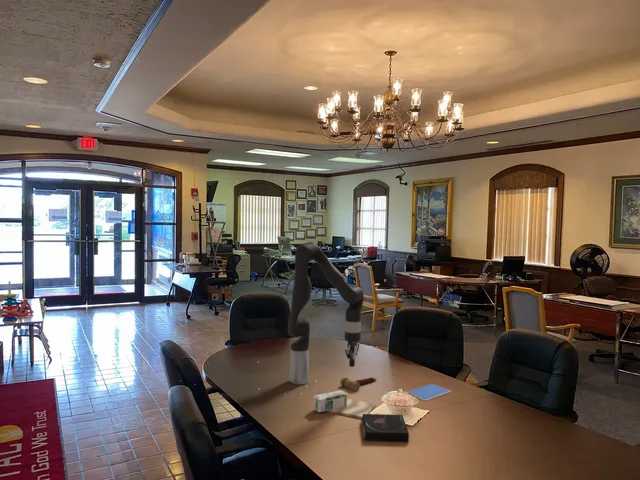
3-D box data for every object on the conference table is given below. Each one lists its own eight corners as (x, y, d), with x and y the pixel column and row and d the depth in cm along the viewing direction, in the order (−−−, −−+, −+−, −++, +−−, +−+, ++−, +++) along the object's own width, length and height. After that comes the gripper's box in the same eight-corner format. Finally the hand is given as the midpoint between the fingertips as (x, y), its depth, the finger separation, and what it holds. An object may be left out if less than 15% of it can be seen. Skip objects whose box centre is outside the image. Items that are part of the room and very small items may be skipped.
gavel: (369, 372, 247) (383, 377, 239) (369, 380, 247) (382, 386, 239) (340, 377, 234) (353, 383, 226) (339, 386, 234) (353, 392, 226)
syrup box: (347, 406, 206) (319, 413, 199) (340, 401, 211) (312, 407, 204) (347, 394, 206) (319, 400, 199) (341, 389, 211) (313, 395, 204)
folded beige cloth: (321, 410, 204) (321, 408, 204) (335, 398, 217) (335, 396, 217) (364, 419, 195) (364, 417, 195) (375, 406, 209) (375, 404, 209)
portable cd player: (361, 423, 193) (361, 413, 192) (402, 424, 192) (402, 414, 192) (364, 442, 176) (364, 432, 176) (408, 443, 176) (408, 433, 176)
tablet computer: (425, 402, 215) (425, 399, 215) (405, 394, 226) (405, 391, 225) (451, 393, 227) (451, 390, 227) (431, 385, 237) (431, 383, 237)
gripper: (355, 334, 206) (354, 372, 207) (365, 327, 218) (364, 363, 219) (339, 332, 209) (339, 369, 211) (350, 325, 221) (349, 360, 223)
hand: (352, 366), depth 215 cm, fingers closed
